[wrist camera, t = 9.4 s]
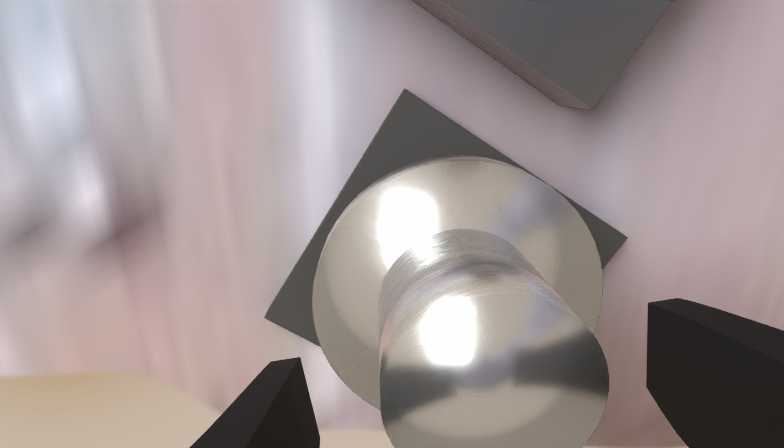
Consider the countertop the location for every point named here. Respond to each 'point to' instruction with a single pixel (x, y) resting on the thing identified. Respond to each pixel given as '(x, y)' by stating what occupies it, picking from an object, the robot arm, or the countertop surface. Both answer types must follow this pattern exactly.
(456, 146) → the mat
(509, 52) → the frame
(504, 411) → the door knob
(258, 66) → the countertop surface
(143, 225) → the countertop surface
